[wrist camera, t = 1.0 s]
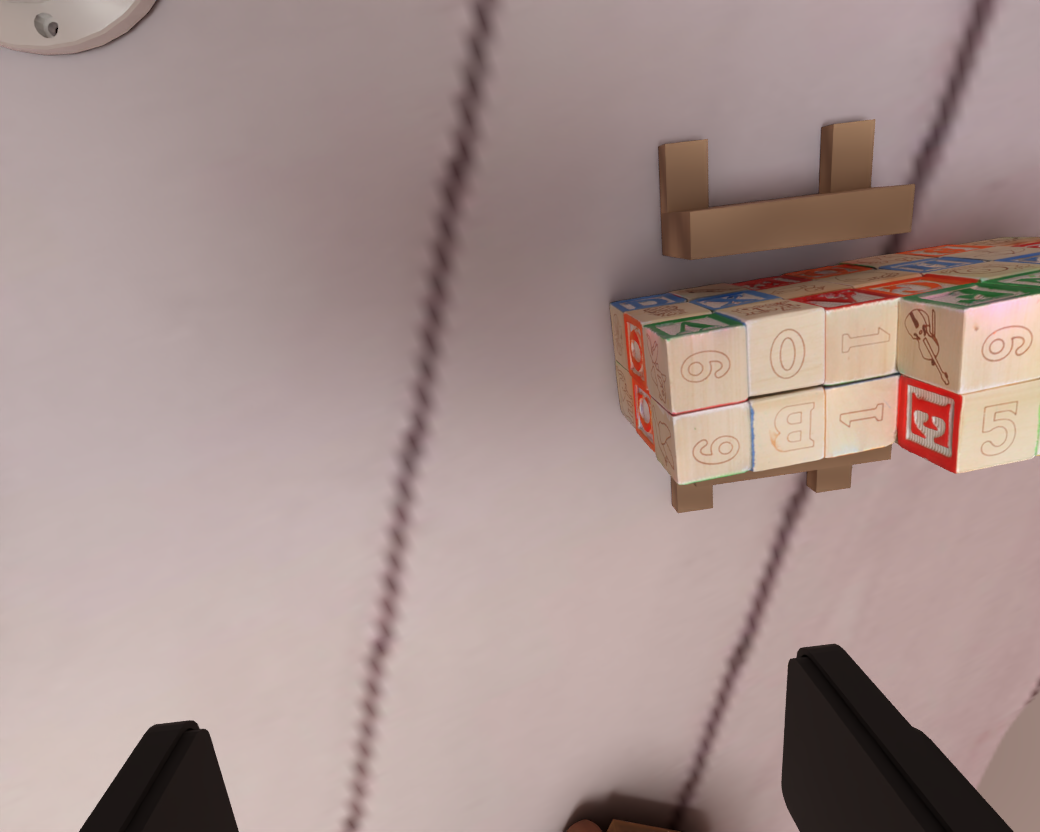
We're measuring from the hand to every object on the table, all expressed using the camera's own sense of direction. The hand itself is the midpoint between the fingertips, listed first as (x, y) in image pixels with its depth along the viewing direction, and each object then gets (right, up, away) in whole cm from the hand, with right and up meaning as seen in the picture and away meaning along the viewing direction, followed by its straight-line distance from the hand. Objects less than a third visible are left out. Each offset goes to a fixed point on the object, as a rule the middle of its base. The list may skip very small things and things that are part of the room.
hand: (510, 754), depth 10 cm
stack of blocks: (+16, +10, +22) cm, 29 cm away
